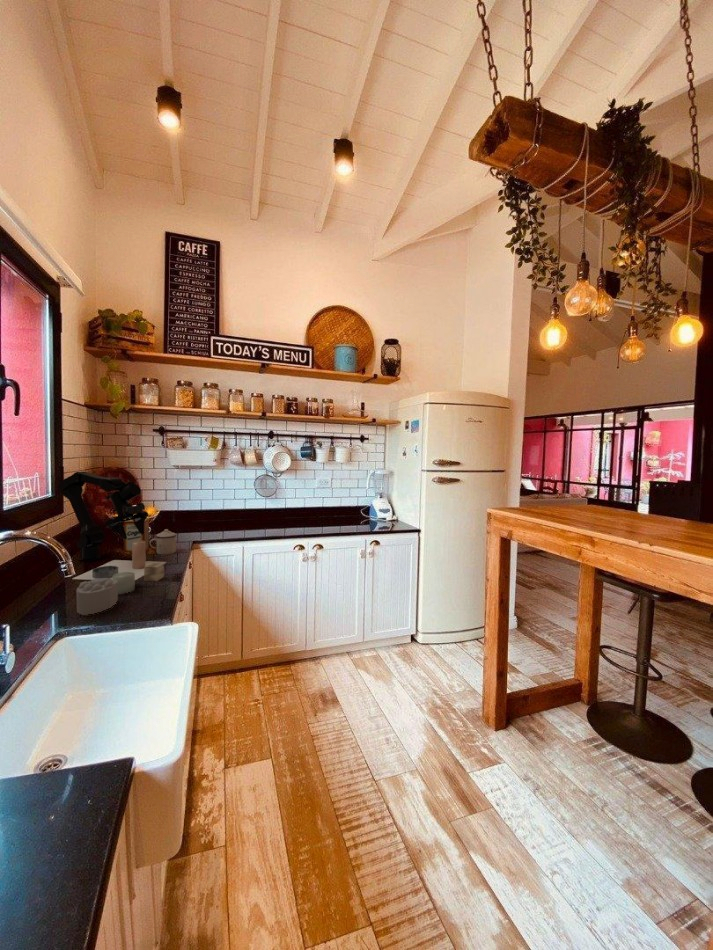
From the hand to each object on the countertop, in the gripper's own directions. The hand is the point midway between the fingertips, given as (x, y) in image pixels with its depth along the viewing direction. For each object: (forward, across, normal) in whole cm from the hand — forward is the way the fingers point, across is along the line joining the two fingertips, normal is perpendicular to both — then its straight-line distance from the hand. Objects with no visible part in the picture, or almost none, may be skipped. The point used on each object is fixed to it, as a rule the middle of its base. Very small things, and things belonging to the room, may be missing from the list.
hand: (134, 536), depth 176 cm
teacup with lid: (+10, +22, +10) cm, 26 cm away
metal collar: (+12, -18, +2) cm, 21 cm away
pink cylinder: (+14, -5, -1) cm, 14 cm away
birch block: (+22, -14, -15) cm, 30 cm away
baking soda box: (+3, +20, +23) cm, 30 cm away
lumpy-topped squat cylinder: (+23, -40, -15) cm, 48 cm away
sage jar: (+21, -25, -12) cm, 35 cm away
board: (+13, -10, +3) cm, 17 cm away
